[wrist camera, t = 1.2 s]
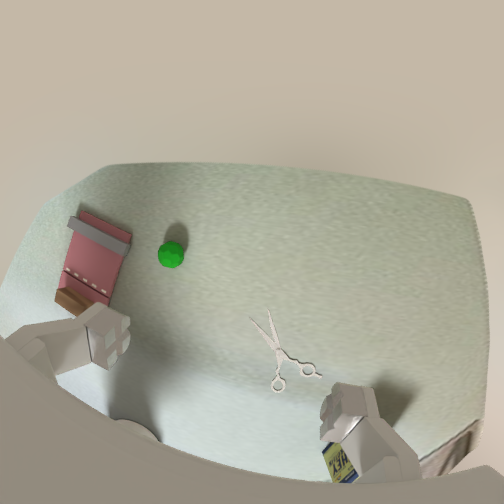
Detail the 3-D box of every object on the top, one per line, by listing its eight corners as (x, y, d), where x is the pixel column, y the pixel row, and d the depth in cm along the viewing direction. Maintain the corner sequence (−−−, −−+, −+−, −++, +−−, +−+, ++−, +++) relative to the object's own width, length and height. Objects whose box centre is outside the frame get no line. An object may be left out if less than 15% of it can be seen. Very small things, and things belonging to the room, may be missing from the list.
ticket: (114, 298, 52) (108, 300, 49) (62, 266, 51) (55, 267, 48) (136, 236, 51) (130, 236, 48) (80, 209, 51) (73, 207, 48)
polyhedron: (187, 265, 52) (182, 267, 47) (164, 268, 52) (156, 270, 47) (184, 239, 52) (178, 239, 47) (161, 243, 52) (153, 242, 47)
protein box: (345, 424, 53) (366, 463, 37) (386, 435, 53) (410, 468, 38) (320, 452, 53) (334, 492, 37) (362, 461, 53) (380, 496, 38)
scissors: (278, 399, 52) (233, 324, 52) (277, 397, 53) (233, 322, 52) (322, 377, 52) (282, 299, 52) (321, 376, 53) (282, 298, 52)
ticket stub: (101, 329, 52) (89, 336, 46) (57, 300, 51) (43, 304, 46) (110, 298, 51) (97, 302, 46) (64, 270, 51) (50, 272, 46)
